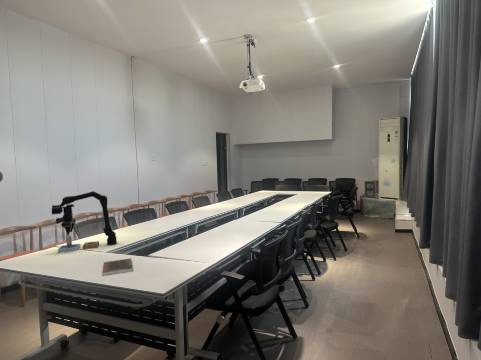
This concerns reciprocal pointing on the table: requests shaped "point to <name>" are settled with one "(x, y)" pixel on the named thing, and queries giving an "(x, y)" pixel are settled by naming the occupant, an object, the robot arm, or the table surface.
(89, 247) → the socket block
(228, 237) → the table surface
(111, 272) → the picture frame
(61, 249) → the tray
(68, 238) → the pin
